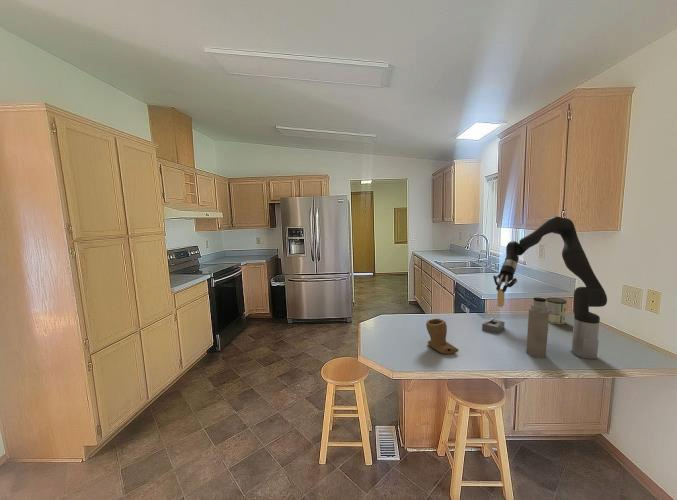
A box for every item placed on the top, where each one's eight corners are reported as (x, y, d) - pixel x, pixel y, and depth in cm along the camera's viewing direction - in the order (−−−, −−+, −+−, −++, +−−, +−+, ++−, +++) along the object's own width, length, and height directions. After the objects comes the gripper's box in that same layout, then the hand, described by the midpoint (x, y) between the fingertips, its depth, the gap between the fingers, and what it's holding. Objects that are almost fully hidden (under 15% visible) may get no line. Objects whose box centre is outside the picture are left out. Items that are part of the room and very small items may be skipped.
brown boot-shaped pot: (421, 344, 154) (421, 317, 152) (441, 341, 156) (441, 314, 155) (438, 357, 139) (438, 327, 137) (459, 354, 142) (460, 324, 140)
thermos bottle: (528, 348, 146) (531, 295, 143) (547, 353, 141) (551, 298, 137) (524, 354, 140) (528, 298, 137) (544, 359, 135) (548, 301, 132)
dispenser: (490, 325, 177) (490, 316, 176) (504, 329, 171) (504, 320, 171) (481, 330, 169) (482, 321, 168) (496, 335, 163) (497, 325, 163)
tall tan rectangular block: (499, 304, 178) (499, 288, 176) (504, 304, 176) (504, 289, 174) (497, 306, 176) (497, 290, 174) (501, 307, 174) (502, 291, 172)
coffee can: (544, 317, 189) (545, 296, 188) (563, 320, 184) (565, 298, 182) (545, 322, 181) (546, 300, 179) (565, 325, 175) (567, 303, 173)
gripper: (495, 263, 183) (486, 285, 176) (520, 266, 173) (512, 289, 166) (497, 270, 187) (489, 292, 181) (522, 273, 177) (514, 296, 170)
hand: (500, 291), depth 173 cm, fingers closed on tall tan rectangular block, 2 cm apart
